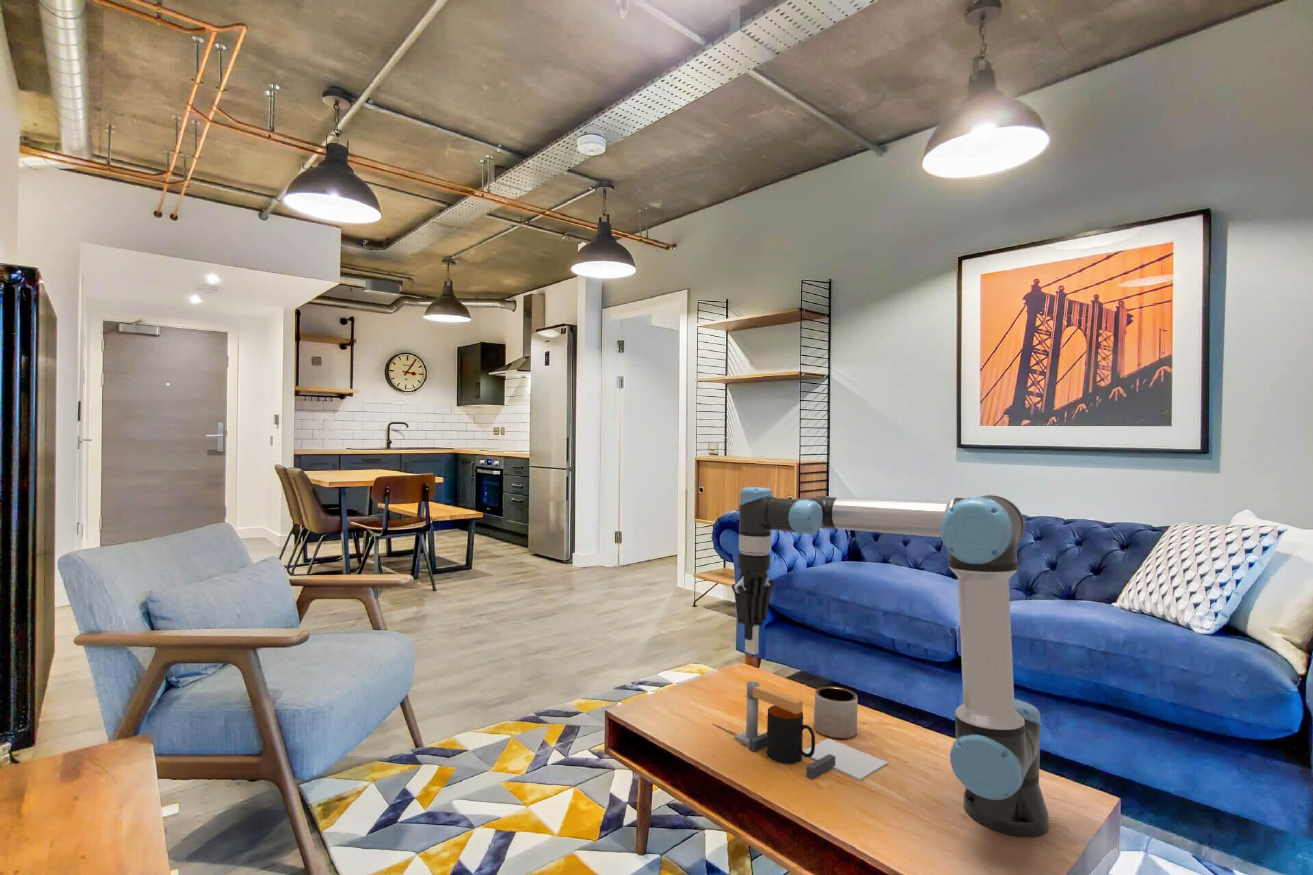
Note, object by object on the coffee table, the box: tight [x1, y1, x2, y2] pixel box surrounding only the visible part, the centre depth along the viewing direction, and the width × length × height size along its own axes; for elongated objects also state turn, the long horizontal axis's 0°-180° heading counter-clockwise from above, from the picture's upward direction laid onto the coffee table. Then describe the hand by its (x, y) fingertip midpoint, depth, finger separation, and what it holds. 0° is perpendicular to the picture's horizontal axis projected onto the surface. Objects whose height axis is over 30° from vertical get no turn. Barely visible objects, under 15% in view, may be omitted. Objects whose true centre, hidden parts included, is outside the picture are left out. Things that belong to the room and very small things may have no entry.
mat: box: [802, 737, 889, 781], centre depth 154 cm, size 16×12×1 cm
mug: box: [766, 705, 816, 765], centre depth 154 cm, size 8×12×10 cm
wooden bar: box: [746, 681, 804, 714], centre depth 158 cm, size 16×3×3 cm, turn 42°
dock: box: [734, 695, 835, 780], centre depth 156 cm, size 24×9×11 cm, turn 42°
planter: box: [813, 686, 858, 740], centre depth 170 cm, size 11×11×10 cm
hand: (751, 652), depth 155 cm, fingers closed
